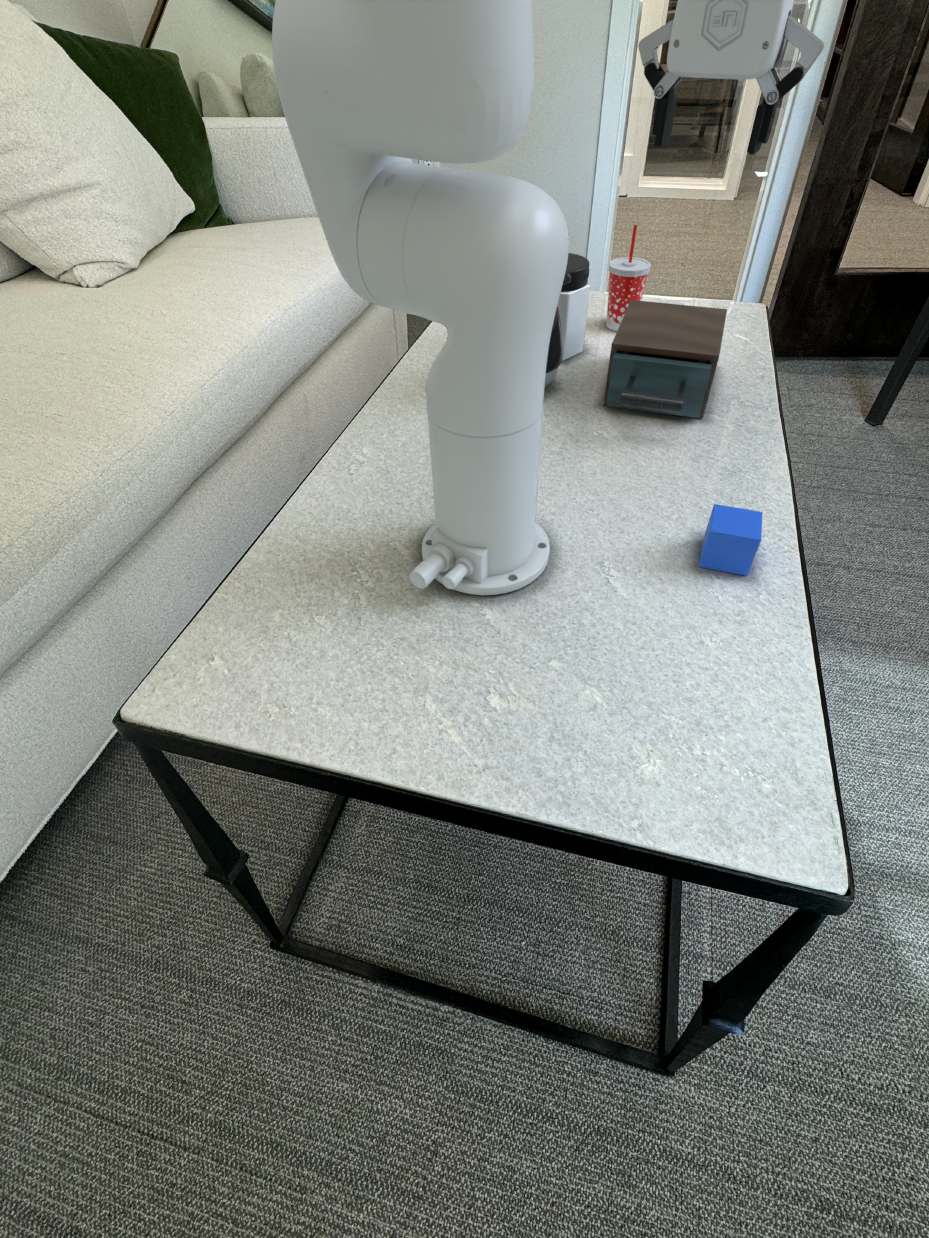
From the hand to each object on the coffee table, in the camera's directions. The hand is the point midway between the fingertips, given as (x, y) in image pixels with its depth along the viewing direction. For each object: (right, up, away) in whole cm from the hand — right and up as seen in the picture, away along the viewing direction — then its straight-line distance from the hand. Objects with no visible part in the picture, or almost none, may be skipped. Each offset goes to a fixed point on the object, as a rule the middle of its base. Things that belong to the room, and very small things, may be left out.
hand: (706, 148), depth 67 cm
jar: (-12, -9, +29) cm, 33 cm away
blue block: (0, -44, -5) cm, 44 cm away
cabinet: (+1, -18, +20) cm, 27 cm away
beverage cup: (-1, -3, +34) cm, 34 cm away
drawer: (-1, -21, +16) cm, 26 cm away
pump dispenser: (-17, -17, +21) cm, 32 cm away
